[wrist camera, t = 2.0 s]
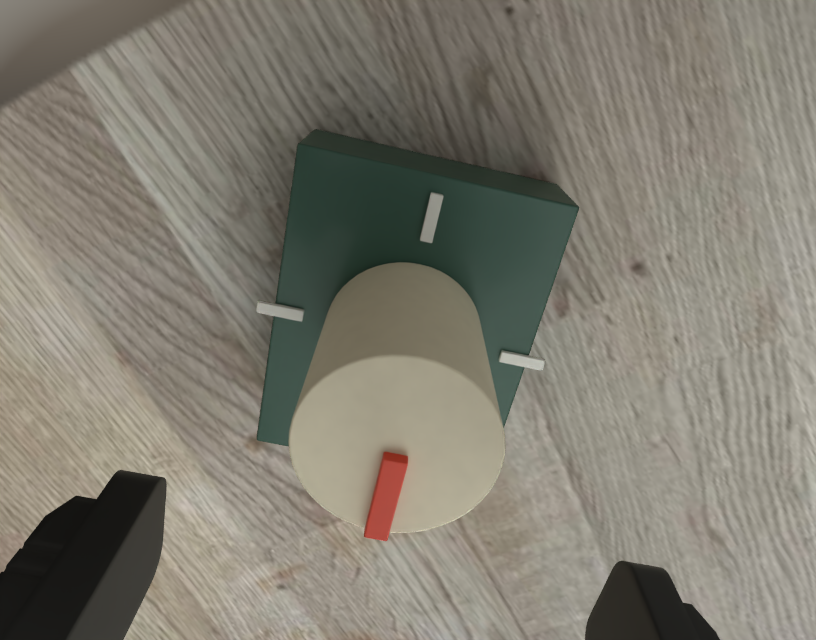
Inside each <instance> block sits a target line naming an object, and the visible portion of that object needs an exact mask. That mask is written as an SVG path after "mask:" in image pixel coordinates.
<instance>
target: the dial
mask: <svg viewBox="0 0 816 640" xmlns="http://www.w3.org/2000/svg"><path fill="white" fill-rule="evenodd" d="M289 453H290V457H291V462H292V465H293V468H294V470H295V473H296V475H297V477H298V479H299V481H300V482H301V484H302V486H303V487H304V488H305V490H306V491H307V492H308V494H309V495H310V496H311V497H312V498H313V499H314V500H315V501H316V502H317V503H318V504H319V505H320V506H322V507H323V508H324V509H326V510H327V511H328V512H330V513H331V514H333V515H335V516H336V517H338V518H340V519H342V520H344V521H346V522H348V523H350V524H353V525H356V526H359V527H362V528H365V530H364V537H366V538H372V539H377V540H383V541H387V540H388V536H389V533H408V532H418V531H424V530H429V529H432V528H436V527H439V526H442V525H445V524H447V523H449V522H452V521H454V520H456V519H457V518H459V517H461V516H463V515H464V514H466V513H467V512H469V511H470V510H472V509H473V508H474V507H475V506H476V505H477V504H478V503H480V502H481V501H482V500H483V499H484V497H485V496H486V495H487V494H488V493H489V491H490V490H491V488H492V487H493V485H494V484H495V482H496V480H497V478H498V476H499V473H500V471H501V469H502V465H503V461H504V456H505V433H504V429H503V424H502V419H501V415H500V410H499V406H498V401H497V397H496V392H495V388H494V383H493V378H492V374H491V369H490V365H489V360H488V356H487V351H486V346H485V342H484V337H483V333H482V328H481V324H480V319H479V315H478V312H477V310H476V307H475V305H474V303H473V301H472V299H471V298H470V296H469V295H468V294H467V292H466V291H465V290H464V289H463V288H462V287H461V286H460V285H459V284H458V283H457V282H456V281H455V280H453V279H452V278H451V277H449V276H448V275H446V274H444V273H443V272H441V271H439V270H436V269H434V268H432V267H429V266H425V265H421V264H416V263H406V262H397V263H388V264H383V265H379V266H376V267H373V268H370V269H368V270H366V271H364V272H362V273H360V274H358V275H357V276H355V277H354V278H353V279H351V280H350V281H349V282H348V283H347V284H346V285H344V286H343V287H342V289H341V290H340V291H339V292H338V294H337V295H336V297H335V298H334V300H333V302H332V303H331V306H330V308H329V311H328V313H327V316H326V319H325V322H324V325H323V328H322V331H321V334H320V337H319V340H318V343H317V346H316V349H315V352H314V355H313V358H312V361H311V364H310V367H309V370H308V373H307V376H306V379H305V382H304V385H303V388H302V391H301V394H300V397H299V400H298V403H297V406H296V409H295V411H294V414H293V417H292V421H291V425H290V429H289Z"/></svg>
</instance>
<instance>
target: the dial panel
mask: <svg viewBox="0 0 816 640" xmlns="http://www.w3.org/2000/svg"><path fill="white" fill-rule="evenodd" d="M578 210H579V206H578V205H577V204H576V203H575V202H574V201H573V200H572V199H571V198H570V197H569V196H568V195H567V194H566V193H565V192H564V191H563V190H562V189H561V188H560V187H559V186H558V185H557V184H554V183H550V182H545V181H541V180H536V179H532V178H528V177H523V176H519V175H515V174H510V173H506V172H501V171H497V170H493V169H488V168H484V167H480V166H475V165H471V164H466V163H462V162H458V161H453V160H449V159H444V158H440V157H436V156H431V155H427V154H423V153H418V152H414V151H409V150H405V149H401V148H396V147H392V146H387V145H383V144H379V143H374V142H370V141H366V140H361V139H357V138H352V137H348V136H344V135H339V134H335V133H331V132H326V131H322V130H317V129H316V130H314V131H313V132H311V133H310V134H309V135H308V136H307V137H306V138H304V139H303V140H302V141H301V142H300V143H298V145H297V152H296V159H295V166H294V173H293V180H292V187H291V195H290V202H289V209H288V216H287V223H286V231H285V238H284V245H283V252H282V259H281V266H280V274H279V281H278V288H277V295H276V302H275V303H270V302H265V301H260V300H258V302H257V309H256V312H257V313H261V314H266V315H271V316H274V317H273V324H272V331H271V338H270V345H269V353H268V360H267V367H266V374H265V381H264V388H263V396H262V403H261V410H260V417H259V424H258V432H257V440H258V441H263V442H268V443H274V444H279V445H284V446H289V429H290V425H291V421H292V417H293V414H294V411H295V409H296V406H297V403H298V400H299V397H300V394H301V391H302V388H303V385H304V382H305V379H306V376H307V373H308V370H309V367H310V364H311V361H312V358H313V355H314V352H315V349H316V346H317V343H318V340H319V337H320V334H321V331H322V328H323V325H324V322H325V319H326V316H327V313H328V311H329V308H330V306H331V303H332V302H333V300H334V298H335V297H336V295H337V294H338V292H339V291H340V290H341V289H342V287H343V286H344V285H346V284H347V283H348V282H349V281H350V280H351V279H353V278H354V277H355V276H357V275H358V274H360V273H362V272H364V271H366V270H368V269H370V268H373V267H376V266H379V265H383V264H388V263H397V262H406V263H416V264H421V265H425V266H429V267H432V268H434V269H436V270H439V271H441V272H443V273H444V274H446V275H448V276H449V277H451V278H452V279H453V280H455V281H456V282H457V283H458V284H459V285H460V286H461V287H462V288H463V289H464V290H465V291H466V292H467V294H468V295H469V296H470V298H471V299H472V301H473V303H474V305H475V307H476V310H477V312H478V315H479V319H480V324H481V328H482V333H483V337H484V342H485V346H486V351H487V356H488V360H489V365H490V369H491V374H492V378H493V383H494V388H495V392H496V397H497V401H498V406H499V410H500V415H501V419H502V424H503V428H504V426H505V423H506V420H507V417H508V414H509V411H510V408H511V405H512V402H513V399H514V396H515V393H516V391H517V388H518V385H519V382H520V379H521V376H522V373H523V370H524V367H526V368H531V369H536V370H541V371H542V369H543V366H544V364H545V359H543V358H538V357H533V356H529V353H530V350H531V347H532V344H533V341H534V338H535V335H536V332H537V329H538V327H539V324H540V321H541V318H542V315H543V312H544V309H545V306H546V303H547V300H548V297H549V295H550V292H551V289H552V286H553V283H554V280H555V277H556V274H557V271H558V268H559V265H560V263H561V260H562V257H563V254H564V251H565V248H566V245H567V242H568V239H569V236H570V233H571V231H572V228H573V225H574V222H575V219H576V216H577V213H578Z"/></svg>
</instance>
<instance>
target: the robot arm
mask: <svg viewBox="0 0 816 640" xmlns="http://www.w3.org/2000/svg"><path fill="white" fill-rule="evenodd" d="M165 501H166V479H165V478H163V477H158V476H152V475H146V474H141V473H135V472H130V471H124V470H119V471H117V472H116V473H115V474H114V475H113V477H112V478H111V479H110V481H109V482H108V484H107V485H106V487H105V488H104V489H103V491H102V492H101V494H100V495H99V497H98V498H97V499H92V498H86V497H81V496H75V497H73V498H72V499H70V500H69V501H67V502H66V503H64V504H63V505H61V506H60V507H58V508H57V509H55V510H54V511H52V512H51V513H49V514H48V515H46V516H45V517H44V518H43V520H42V521H41V522H40V523H39V525H38V526H37V527H36V529H35V530H34V531H33V532H32V534H31V535H30V536H29V538H28V539H27V540H26V541H25V543H24V546H23V548H22V549H19V550H18V552H17V553H16V554H15V555H14V557H13V558H12V559H11V561H10V562H9V563H8V564H7V566H6V569H5V571H4V572H1V573H0V640H123V639H124V637H125V635H126V633H127V631H128V629H129V627H130V625H131V623H132V621H133V619H134V617H135V615H136V613H137V611H138V609H139V607H140V605H141V603H142V601H143V599H144V597H145V594H146V592H147V590H148V588H149V586H150V584H151V582H152V580H153V577H154V575H155V572H156V569H157V566H158V563H159V559H160V555H161V550H162V544H163V530H164V516H165ZM585 640H720V639H719V637H718V635H717V633H716V632H715V631H714V630H713V628H712V627H711V626H710V625H709V624H708V623H707V621H706V620H705V619H704V618H703V617H702V616H701V615H700V613H699V612H698V611H697V610H696V609H695V608H694V607H693V605H692V604H687V603H683V602H682V600H681V598H680V596H679V594H678V592H677V590H676V588H675V586H674V584H673V582H672V579H671V577H670V576H669V574H668V573H667V571H666V570H664V569H663V568H660V567H654V566H649V565H643V564H637V563H632V562H626V561H619V562H618V563H616V564H615V566H614V567H613V569H612V571H611V573H610V575H609V577H608V579H607V581H606V583H605V585H604V587H603V590H602V592H601V594H600V596H599V598H598V600H597V602H596V604H595V606H594V608H593V610H592V612H591V614H590V616H589V619H588V622H587V626H586V634H585Z"/></svg>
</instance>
